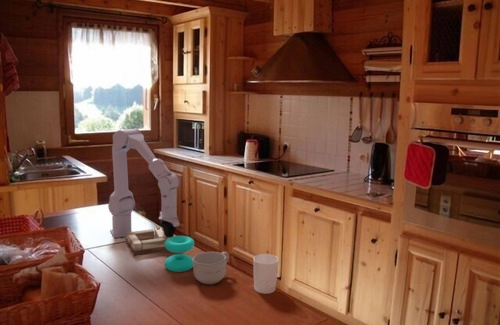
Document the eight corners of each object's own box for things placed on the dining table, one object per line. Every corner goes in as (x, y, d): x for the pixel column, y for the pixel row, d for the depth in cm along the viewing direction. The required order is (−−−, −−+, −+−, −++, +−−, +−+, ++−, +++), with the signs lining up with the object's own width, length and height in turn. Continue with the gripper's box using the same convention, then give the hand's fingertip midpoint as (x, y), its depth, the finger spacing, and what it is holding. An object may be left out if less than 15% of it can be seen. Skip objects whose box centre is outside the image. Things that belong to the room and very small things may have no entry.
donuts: (175, 232, 151) (199, 237, 147) (175, 259, 153) (199, 264, 149) (158, 241, 142) (183, 247, 138) (158, 269, 144) (183, 275, 140)
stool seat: (125, 243, 166) (125, 232, 165) (160, 238, 172) (160, 227, 172) (134, 256, 154) (134, 244, 153) (171, 250, 160) (171, 239, 159)
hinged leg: (154, 233, 171) (154, 226, 170) (160, 233, 172) (160, 226, 171) (159, 243, 161) (159, 235, 160) (165, 242, 162) (165, 234, 161)
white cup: (248, 284, 135) (249, 255, 133) (271, 281, 138) (272, 252, 136) (257, 296, 128) (259, 265, 126) (281, 292, 131) (283, 262, 129)
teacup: (204, 291, 130) (204, 266, 128) (185, 278, 138) (186, 255, 137) (240, 279, 139) (240, 256, 137) (220, 267, 147) (221, 245, 145)
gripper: (152, 201, 166) (152, 234, 169) (166, 211, 154) (166, 247, 157) (169, 199, 170) (169, 232, 172) (184, 209, 158) (184, 243, 161)
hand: (169, 239), depth 165 cm, fingers closed
